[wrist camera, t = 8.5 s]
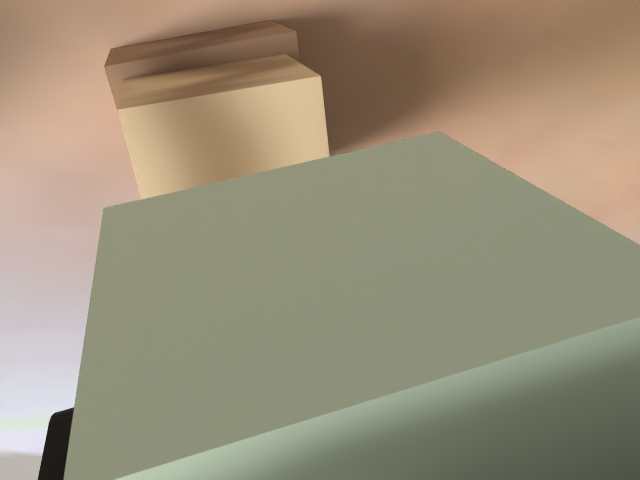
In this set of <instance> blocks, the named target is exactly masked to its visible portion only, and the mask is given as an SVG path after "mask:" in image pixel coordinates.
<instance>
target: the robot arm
mask: <svg viewBox="0 0 640 480" xmlns="http://www.w3.org/2000/svg"><path fill="white" fill-rule="evenodd" d="M73 412H74V408H70V409H67V410H63V411H60V412H56V413H54V414H53V415H52V416H51V419H50V422H49V426H48V431H47V436H46V441H45V446H44V451H43V456H42V461H41V466H40V471H39V476H38V480H64V473H65V466H66V459H67V453H68V446H69V439H70V432H71V426H72V419H73Z"/></svg>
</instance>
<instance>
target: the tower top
mask: <svg viewBox="0 0 640 480" xmlns="http://www.w3.org/2000/svg"><path fill="white" fill-rule="evenodd" d="M118 114H119V117H120V121H121V125H122V129H123V132H124V136H125V140H126V144H127V148H128V151H129V155H130V159H131V163H132V166H133V170H134V174H135V178H136V182H137V185H138V189H139V193H140V197H141V199H146V198H150V197H154V196H159V195H163V194H168V193H172V192H176V191H181V190H185V189H189V188H194V187H198V186H202V185H207V184H211V183H216V182H220V181H224V180H229V179H233V178H237V177H242V176H246V175H251V174H255V173H259V172H264V171H268V170H272V169H277V168H281V167H285V166H290V165H294V164H299V163H303V162H307V161H312V160H316V159H320V158H325V157H329V147H328V138H327V128H326V119H325V109H324V100H323V90H322V81H321V76H320V75H319V74H317V73H315V72H314V71H312V70H311V69H309V68H307V67H306V66H304V65H303V64H301V63H299V62H298V61H296V60H295V59H293V58H291V57H290V56H288V55H287V54H282V55H276V56H270V57H263V58H257V59H251V60H244V61H238V62H231V63H225V64H219V65H212V66H206V67H200V68H193V69H187V70H180V71H174V72H168V73H161V74H155V75H149V76H142V77H136V78H129V79H123V80H122V86H121V92H120V98H119V104H118Z"/></svg>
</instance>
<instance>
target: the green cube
mask: <svg viewBox="0 0 640 480" xmlns="http://www.w3.org/2000/svg"><path fill="white" fill-rule="evenodd" d="M64 480H640V245H639V244H637V243H635V242H633V241H632V240H630V239H628V238H626V237H625V236H623V235H621V234H619V233H618V232H616V231H614V230H612V229H611V228H609V227H607V226H605V225H603V224H602V223H600V222H598V221H596V220H595V219H593V218H591V217H589V216H588V215H586V214H584V213H582V212H581V211H579V210H577V209H575V208H573V207H572V206H570V205H568V204H566V203H565V202H563V201H561V200H559V199H558V198H556V197H554V196H552V195H551V194H549V193H547V192H545V191H544V190H542V189H540V188H538V187H536V186H535V185H533V184H531V183H529V182H528V181H526V180H524V179H522V178H521V177H519V176H517V175H515V174H514V173H512V172H510V171H508V170H506V169H505V168H503V167H501V166H499V165H498V164H496V163H494V162H492V161H491V160H489V159H487V158H485V157H484V156H482V155H480V154H478V153H476V152H475V151H473V150H471V149H469V148H468V147H466V146H464V145H462V144H461V143H459V142H457V141H455V140H454V139H452V138H450V137H448V136H447V135H445V134H443V133H441V132H439V131H438V132H434V133H429V134H425V135H421V136H416V137H412V138H408V139H403V140H399V141H395V142H390V143H386V144H381V145H377V146H373V147H368V148H364V149H360V150H355V151H351V152H347V153H342V154H338V155H333V156H329V157H325V158H320V159H316V160H312V161H307V162H303V163H299V164H294V165H290V166H285V167H281V168H277V169H272V170H268V171H264V172H259V173H255V174H251V175H246V176H242V177H237V178H233V179H229V180H224V181H220V182H216V183H211V184H207V185H202V186H198V187H194V188H189V189H185V190H181V191H176V192H172V193H168V194H163V195H159V196H154V197H150V198H146V199H141V200H137V201H133V202H128V203H124V204H120V205H115V206H111V207H106V208H104V210H103V216H102V223H101V230H100V237H99V243H98V250H97V257H96V264H95V270H94V277H93V284H92V291H91V297H90V304H89V311H88V318H87V324H86V331H85V338H84V345H83V351H82V358H81V365H80V372H79V378H78V385H77V392H76V399H75V405H74V412H73V419H72V426H71V432H70V439H69V446H68V453H67V459H66V466H65V473H64Z"/></svg>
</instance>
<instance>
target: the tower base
mask: <svg viewBox="0 0 640 480" xmlns="http://www.w3.org/2000/svg"><path fill="white" fill-rule="evenodd" d="M282 54H287V55H288V56H290V57H291V58H293V59H295V60H296V61H298V62H299V63H301V60H300V53H299V47H298V40H297V34H296V31H295V30H293V29H290V28H288V27H286V26H284V25H281V24H279V23H277V22H274V21H272V20H269V21H263V22H258V23H252V24H247V25H241V26H236V27H230V28H225V29H219V30H214V31H208V32H203V33H197V34H192V35H186V36H180V37H175V38H169V39H164V40H158V41H153V42H147V43H142V44H136V45H131V46H125V47H120V48H114V49H111V50H110V52H109V55H108V58H107V61H106V63H105V66H104V67H105V71H106V74H107V77H108V81H109V84H110V87H111V91H112V94H113V97H114V101H115V104H116V107H117V111H118V104H119V98H120V92H121V86H122V80H123V79H129V78H136V77H142V76H149V75H155V74H161V73H168V72H174V71H180V70H187V69H193V68H200V67H206V66H212V65H219V64H225V63H231V62H238V61H244V60H251V59H257V58H263V57H270V56H276V55H282Z"/></svg>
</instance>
